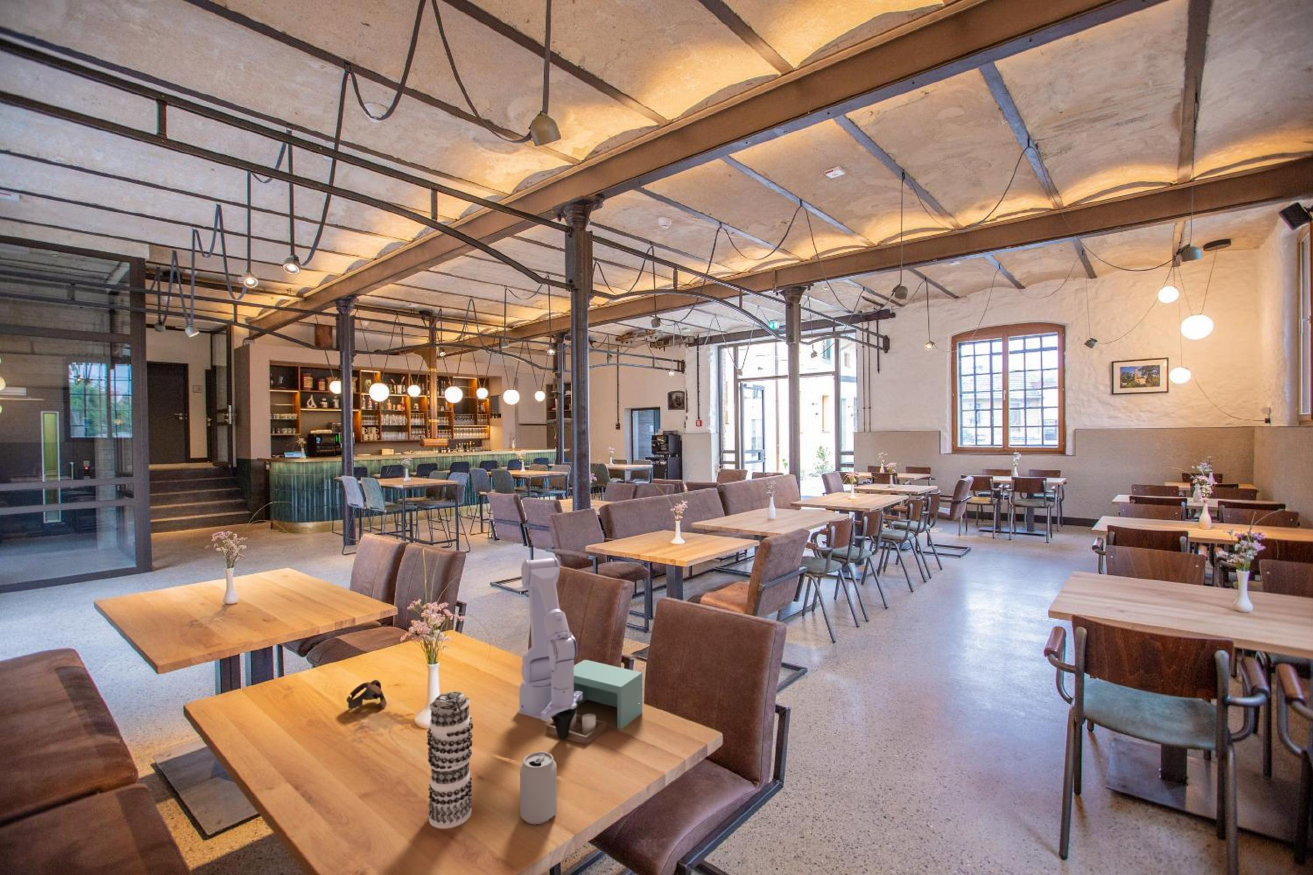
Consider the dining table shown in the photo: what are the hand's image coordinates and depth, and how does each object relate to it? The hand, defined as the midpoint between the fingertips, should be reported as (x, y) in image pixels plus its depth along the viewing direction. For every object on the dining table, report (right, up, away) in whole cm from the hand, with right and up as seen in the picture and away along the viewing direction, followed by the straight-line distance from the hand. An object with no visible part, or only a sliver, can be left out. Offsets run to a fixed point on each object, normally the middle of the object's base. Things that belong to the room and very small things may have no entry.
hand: (562, 737), depth 155 cm
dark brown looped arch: (-60, -2, +21) cm, 63 cm away
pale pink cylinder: (+6, -1, +4) cm, 8 cm away
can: (-1, -2, -29) cm, 29 cm away
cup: (+1, -1, +8) cm, 8 cm away
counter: (+9, -1, +15) cm, 18 cm away
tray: (+3, -1, +5) cm, 6 cm away
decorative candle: (-19, -2, -29) cm, 35 cm away
